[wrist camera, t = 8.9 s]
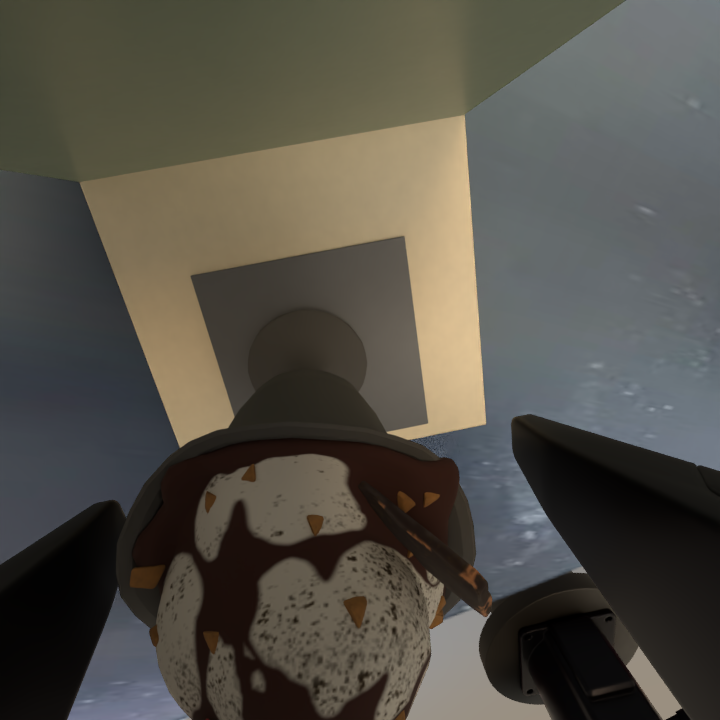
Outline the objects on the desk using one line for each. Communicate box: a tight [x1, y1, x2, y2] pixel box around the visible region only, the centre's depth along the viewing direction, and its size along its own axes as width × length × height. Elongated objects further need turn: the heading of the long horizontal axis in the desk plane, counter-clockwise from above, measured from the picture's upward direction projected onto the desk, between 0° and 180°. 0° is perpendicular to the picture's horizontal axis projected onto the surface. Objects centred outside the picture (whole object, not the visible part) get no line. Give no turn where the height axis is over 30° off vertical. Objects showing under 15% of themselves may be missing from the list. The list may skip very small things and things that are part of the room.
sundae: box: [116, 310, 492, 720], centre depth 10 cm, size 7×7×15 cm
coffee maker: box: [0, 0, 626, 448], centre depth 11 cm, size 18×14×14 cm
